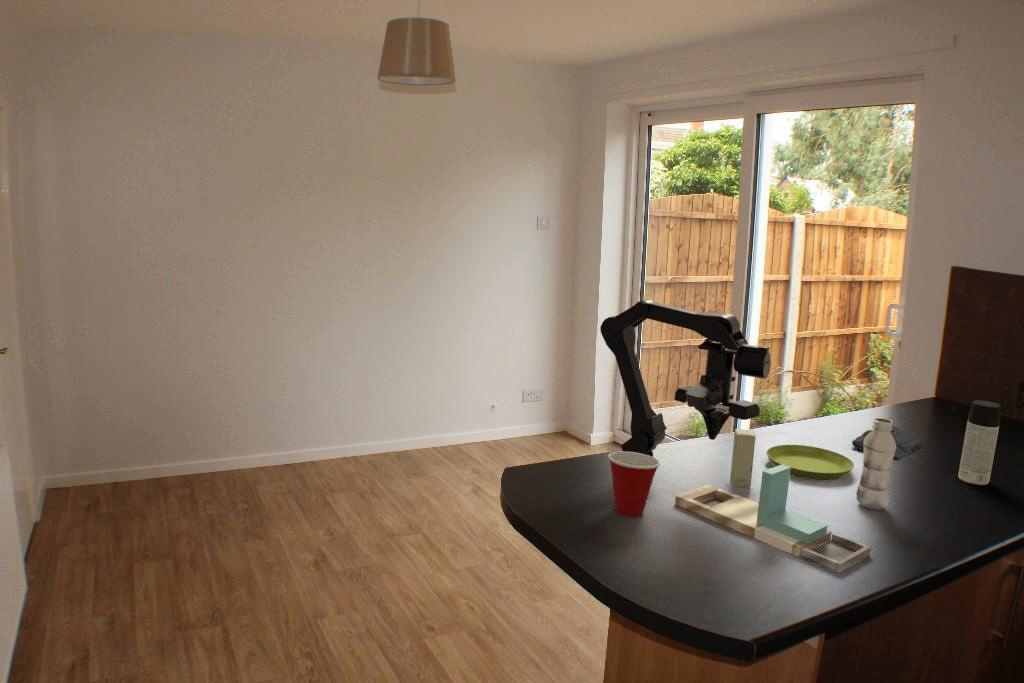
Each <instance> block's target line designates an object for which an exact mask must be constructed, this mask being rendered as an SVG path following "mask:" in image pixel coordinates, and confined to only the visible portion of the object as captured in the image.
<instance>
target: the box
mask: <svg viewBox="0 0 1024 683" xmlns="http://www.w3.org/2000/svg"><path fill="white" fill-rule="evenodd" d="M756 436H757V435H756V433H755V431H754V430H752V429H750V430H749V429H743V428H742V429H741V428H735V430H734V435H733V446H732V458H731V470H730V477H729V480H730V485H731V487H733V488H740V489H741V488H743V489H750V488H752V476H753V475H752V474H753V466H754V455H755V445H756Z"/></svg>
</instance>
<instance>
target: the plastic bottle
mask: <svg viewBox="0 0 1024 683" xmlns="http://www.w3.org/2000/svg"><path fill="white" fill-rule="evenodd" d="M892 425H893V420H890V419H886V418H880V417H876V418H874V420H873V424H872V428H873V429H871V430H872V431H871V432H870V433H869V434H868V435H867V436H866V437H865V439H864V443H863V445H864V446H863V448H864V450H863V462H862V463H863V466H862V472H861V476H860V480H859V484H858V486H857V490H856V501H857V503H858V504H859V505H861V506H862V507H865V508H867V509H871V510H876V511H877V510H880V511H881V510H884V509H886V508H887V507H888V505H889V503H890V502H889V501H890V488H889V487H890V473H891V468H892V464H893V460H894V459H893V457H894V454H895V451H896V442H895V440H894V438H893V436H892V435H891V433H890V431H892ZM893 426H894V425H893Z"/></svg>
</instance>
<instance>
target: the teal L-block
mask: <svg viewBox="0 0 1024 683" xmlns="http://www.w3.org/2000/svg"><path fill="white" fill-rule="evenodd" d="M790 470H791V467H788V466H785V465H779V466H776V467H775V466H774V467H770V468H768V469H764V470H762V473H761V474H762V475H761V483H760V491H759V498H758V503H759V506H758V514H757V522H756V523H758V524H760V525H762V526H765V527H767V528H770V529H772V530H775V531H777V532H779V533H782V534H784V535H787V536H789V537H792V538H794V539H796V540H799V541H801V542H804V543H806V544H809V543H811V542H813V541H815V540H817V539H819V538H821V537H823V536H825V535H826V533H827V530H828V525H827V524H825V523H823V522H820V521H817V520H815V519H812V518H811V517H806V516H805V515H801V514H799V513H796V512H794V511H791V510H788V509H786V508H787V499H788V491H789V484H790V477H791V475H790Z"/></svg>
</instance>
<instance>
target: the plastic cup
mask: <svg viewBox="0 0 1024 683" xmlns="http://www.w3.org/2000/svg"><path fill="white" fill-rule="evenodd" d="M608 460H609V463H610V468H611V469H610V470H611V478H612V479H611V480H612V491H613V497H614V498H613V499H614V508H615V511H616V513H617V514H619V515H621V516H625V517H630V518H633V517H640V516H641V515H643V514H644V511H645V508H646V503H647V500H648V497H649V494H650V491H651V486H652V483H653V479H654V477H655V474H656V472H657V469H658V468H659V467H660V465H661V461H660V460H659V459H657V457H655V456H653V457H651V456H649V455H645V454H641V453H635V452H624V451H622V450H620V451H613V452H611V453H608Z"/></svg>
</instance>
